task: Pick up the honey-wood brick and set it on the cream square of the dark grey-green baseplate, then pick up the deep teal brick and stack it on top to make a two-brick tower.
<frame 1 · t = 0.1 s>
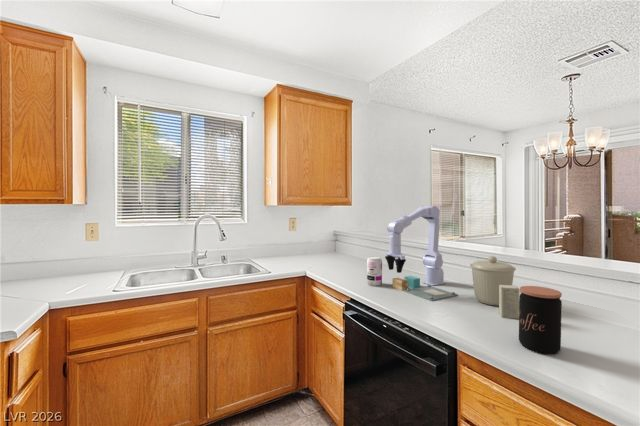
hand: (395, 271, 158), 10 cm above the countertop, tool pointing down, fingers open, 7 cm apart
coffee jar: (538, 347, 95), on the countertop
baseplate: (430, 293, 152), on the countertop
teal brick: (412, 286, 165), on the countertop
skincare box: (508, 316, 121), on the countertop
supplement can: (374, 284, 170), on the countertop
canister: (491, 302, 138), on the countertop
honey-wood brick: (400, 288, 161), on the countertop
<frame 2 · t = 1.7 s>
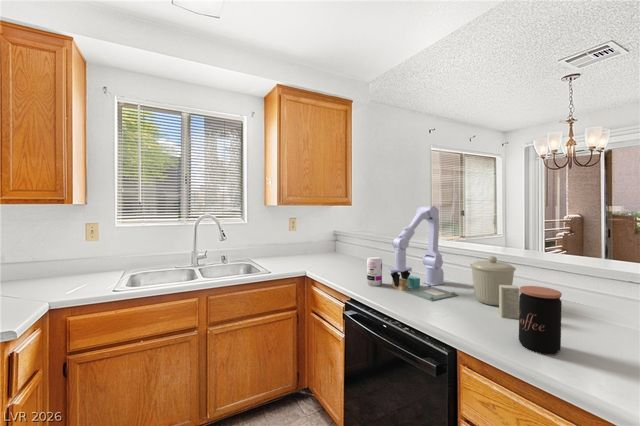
hand: (400, 285, 161), 1 cm above the countertop, tool pointing down, fingers closed on honey-wood brick, 4 cm apart
honey-wood brick: (400, 288, 161), on the countertop, touching gripper
everything else where it was.
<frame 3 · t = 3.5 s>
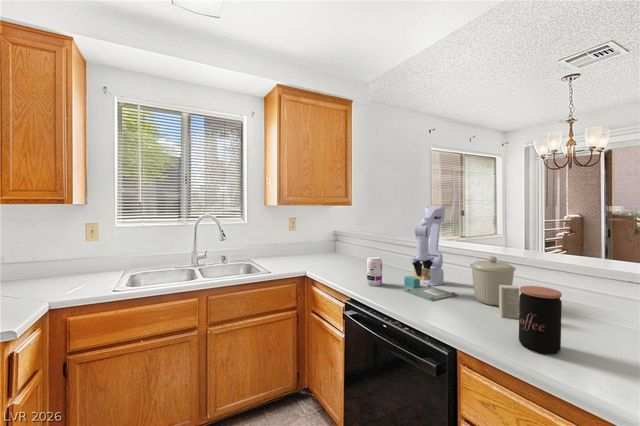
hand: (422, 275, 155), 8 cm above the countertop, tool pointing down, fingers closed on honey-wood brick, 4 cm apart
honey-wood brick: (422, 278, 155), point 7 cm above the countertop, touching gripper
everything else where it was.
when the fingers open (3 cm above the countertop, at t = 5.4 s): honey-wood brick stays where it is, resting on baseplate.
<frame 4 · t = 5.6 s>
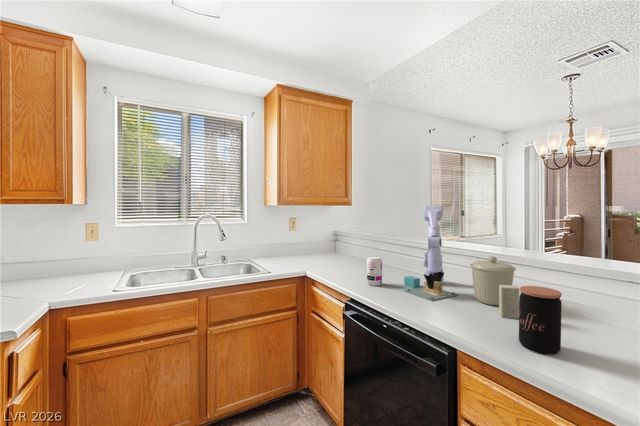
hand: (434, 287, 152), 3 cm above the countertop, tool pointing down, fingers open, 6 cm apart
honey-wood brick: (433, 292, 152), point 1 cm above the countertop, touching baseplate
everything else where it was.
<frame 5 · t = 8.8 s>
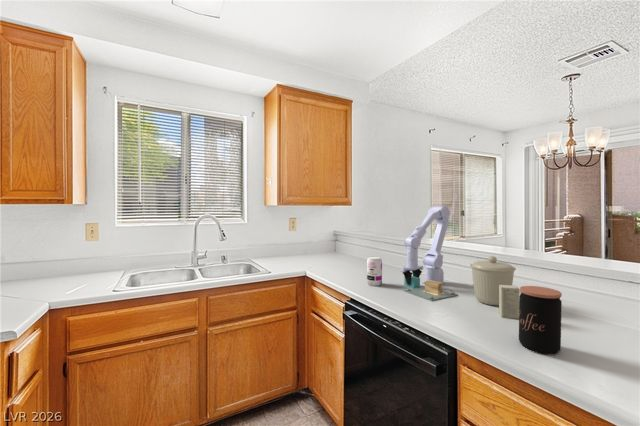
hand: (412, 283, 165), 1 cm above the countertop, tool pointing down, fingers closed on teal brick, 4 cm apart
teal brick: (412, 286, 165), on the countertop, touching gripper
everything else where it was.
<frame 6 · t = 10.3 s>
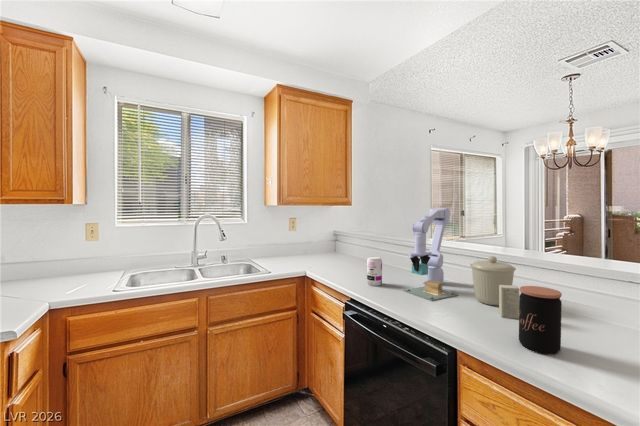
hand: (420, 270, 160), 10 cm above the countertop, tool pointing down, fingers closed on teal brick, 4 cm apart
teal brick: (419, 273, 160), point 8 cm above the countertop, touching gripper
everything else where it was.
when the fingers open (8 cm above the countertop, at t = 11.7 s): teal brick stays where it is, resting on honey-wood brick.
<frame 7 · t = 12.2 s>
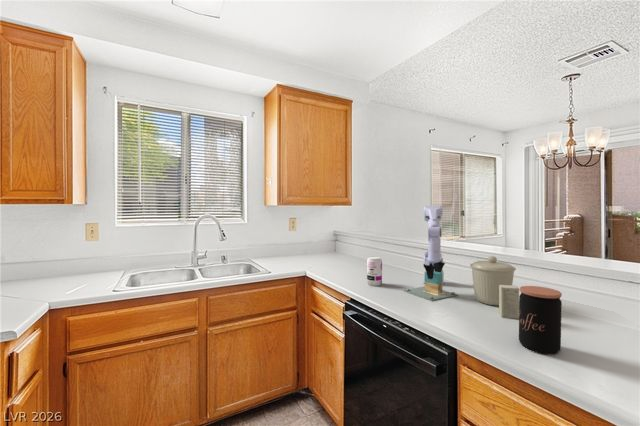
hand: (434, 277, 152), 8 cm above the countertop, tool pointing down, fingers open, 7 cm apart
teal brick: (433, 282, 152), point 6 cm above the countertop, touching honey-wood brick
honey-wood brick: (433, 292, 152), point 1 cm above the countertop, touching baseplate, teal brick
everything else where it was.
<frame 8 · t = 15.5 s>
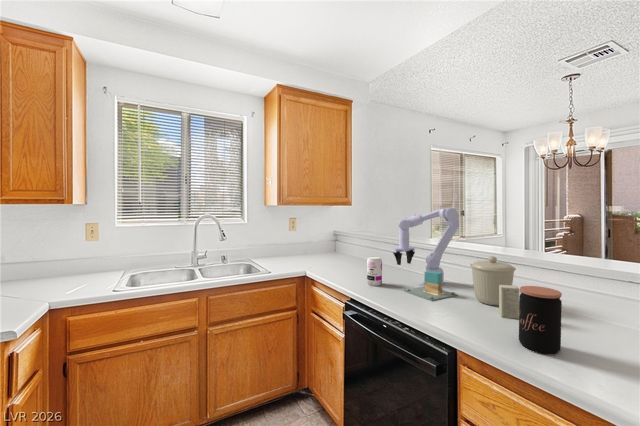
hand: (403, 264, 174), 10 cm above the countertop, tool pointing down, fingers open, 7 cm apart
nothing on the countertop moved.
at the end: honey-wood brick 0.2 cm from the target spot on the baseplate, point 0.6 cm above the baseplate's base; teal brick 0.2 cm off-centre on the honey-wood brick, point 5.0 cm above the honey-wood brick's base; teal brick tilted 0° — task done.
